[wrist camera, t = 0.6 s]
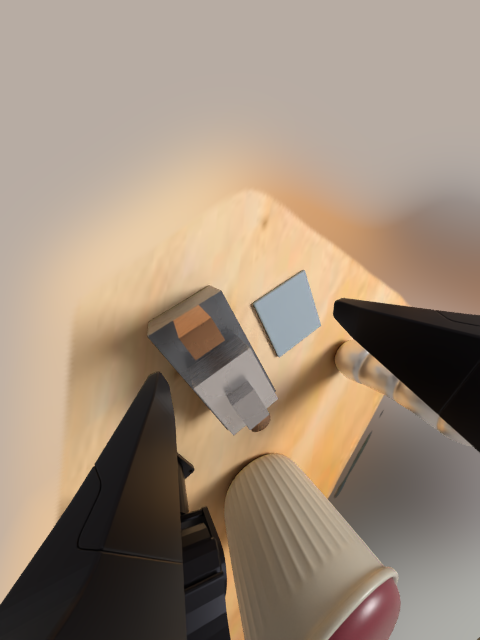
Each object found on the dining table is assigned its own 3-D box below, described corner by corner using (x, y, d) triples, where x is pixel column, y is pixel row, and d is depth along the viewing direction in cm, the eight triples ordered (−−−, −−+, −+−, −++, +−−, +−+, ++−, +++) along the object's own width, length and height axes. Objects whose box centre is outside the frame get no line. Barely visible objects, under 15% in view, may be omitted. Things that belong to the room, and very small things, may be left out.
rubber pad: (319, 324, 28) (321, 325, 28) (277, 356, 26) (279, 357, 26) (302, 270, 24) (304, 270, 24) (252, 303, 22) (254, 303, 22)
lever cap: (262, 381, 21) (285, 407, 17) (223, 412, 20) (238, 446, 16) (236, 335, 18) (257, 354, 14) (187, 368, 17) (196, 398, 13)
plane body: (260, 374, 26) (299, 416, 19) (218, 407, 25) (243, 465, 18) (209, 285, 20) (239, 298, 13) (148, 321, 18) (145, 360, 11)
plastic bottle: (335, 377, 33) (534, 504, 16) (324, 353, 30) (556, 479, 13) (359, 353, 34) (571, 449, 17) (350, 327, 31) (600, 412, 14)
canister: (210, 539, 32) (287, 920, 14) (200, 464, 26) (310, 943, 8) (295, 488, 39) (423, 694, 20) (302, 420, 33) (489, 620, 15)
